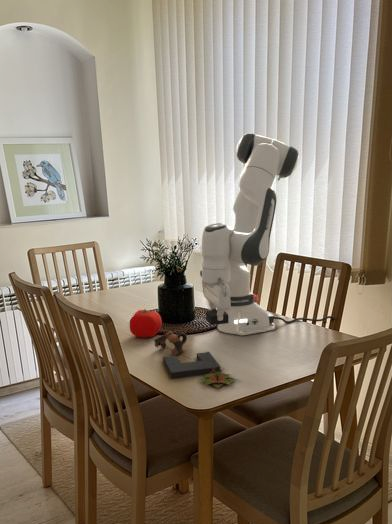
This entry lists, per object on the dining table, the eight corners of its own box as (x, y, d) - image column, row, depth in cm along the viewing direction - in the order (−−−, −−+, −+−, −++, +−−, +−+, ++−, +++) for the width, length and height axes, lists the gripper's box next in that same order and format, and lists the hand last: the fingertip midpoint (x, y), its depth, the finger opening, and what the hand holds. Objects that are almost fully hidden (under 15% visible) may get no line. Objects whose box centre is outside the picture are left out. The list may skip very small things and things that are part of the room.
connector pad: (223, 318, 185) (222, 309, 184) (228, 323, 179) (228, 314, 178) (205, 319, 183) (205, 311, 182) (210, 325, 178) (210, 316, 177)
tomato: (126, 334, 212) (124, 308, 208) (156, 329, 217) (155, 304, 214) (136, 342, 203) (135, 316, 199) (168, 337, 208) (166, 311, 204)
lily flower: (217, 370, 176) (217, 357, 174) (245, 381, 168) (245, 367, 166) (190, 381, 168) (189, 368, 167) (217, 393, 160) (217, 379, 159)
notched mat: (209, 357, 187) (209, 351, 187) (220, 372, 175) (220, 366, 174) (163, 362, 184) (163, 356, 183) (171, 378, 171) (171, 372, 170)
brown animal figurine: (168, 360, 187) (156, 338, 187) (158, 363, 196) (147, 343, 195) (195, 344, 192) (184, 323, 192) (185, 348, 201) (174, 328, 200)
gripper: (235, 281, 167) (235, 325, 172) (216, 268, 186) (217, 307, 190) (215, 283, 166) (216, 327, 170) (198, 269, 184) (199, 309, 189)
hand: (216, 316), depth 181 cm, fingers closed on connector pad, 6 cm apart
